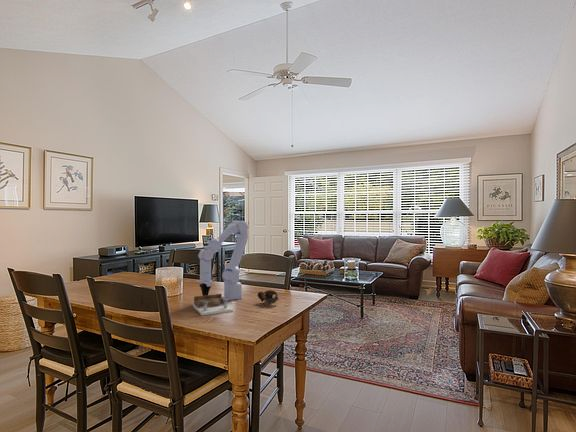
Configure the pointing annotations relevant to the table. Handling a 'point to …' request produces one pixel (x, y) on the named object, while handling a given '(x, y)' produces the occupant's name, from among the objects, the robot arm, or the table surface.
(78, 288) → the table surface
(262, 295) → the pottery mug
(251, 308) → the table surface
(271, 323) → the table surface
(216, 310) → the board
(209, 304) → the brown rectangular box
